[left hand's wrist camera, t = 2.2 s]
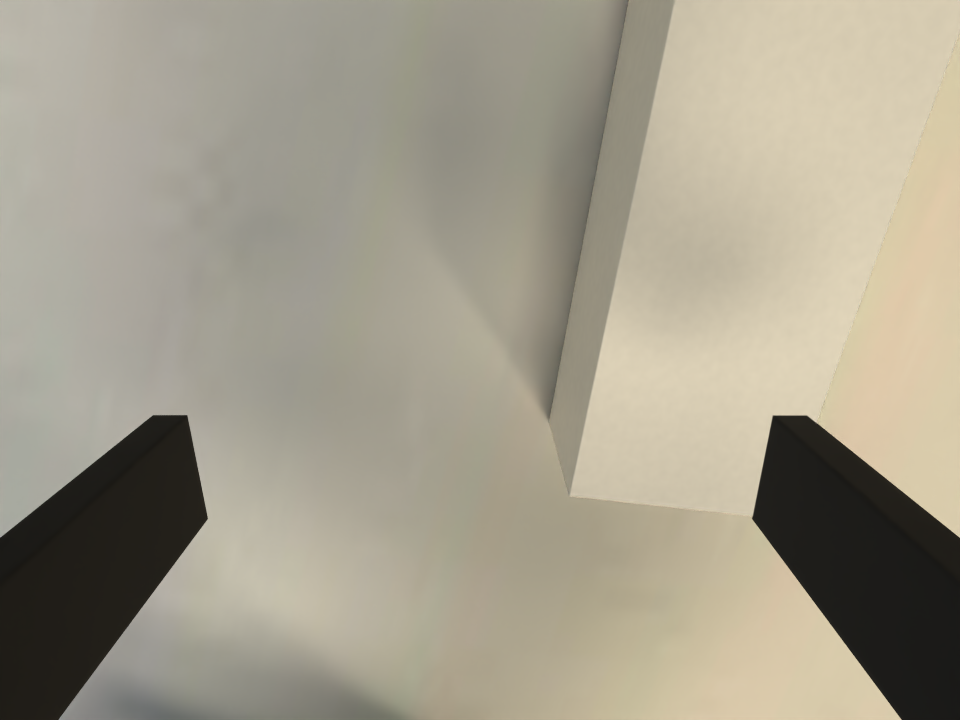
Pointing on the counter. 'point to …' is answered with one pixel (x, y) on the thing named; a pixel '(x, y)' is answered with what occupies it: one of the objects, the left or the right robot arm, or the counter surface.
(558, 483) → the counter surface
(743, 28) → the wide beam
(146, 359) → the counter surface
